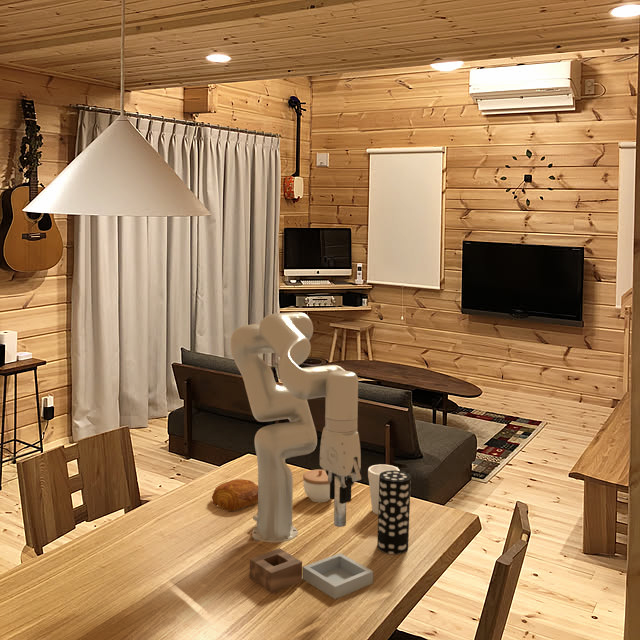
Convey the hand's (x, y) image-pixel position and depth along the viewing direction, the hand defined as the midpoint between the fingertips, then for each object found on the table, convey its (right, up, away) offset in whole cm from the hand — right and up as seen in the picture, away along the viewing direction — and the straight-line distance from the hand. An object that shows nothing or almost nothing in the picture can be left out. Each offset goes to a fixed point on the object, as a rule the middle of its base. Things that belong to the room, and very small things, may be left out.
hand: (340, 499), depth 169 cm
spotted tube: (+15, -19, +24) cm, 34 cm away
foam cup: (+14, -16, +48) cm, 52 cm away
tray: (-1, -21, +3) cm, 22 cm away
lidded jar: (-5, -14, +57) cm, 58 cm away
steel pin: (0, -6, +1) cm, 6 cm away
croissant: (-31, -14, +53) cm, 63 cm away
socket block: (-16, -21, +3) cm, 26 cm away
